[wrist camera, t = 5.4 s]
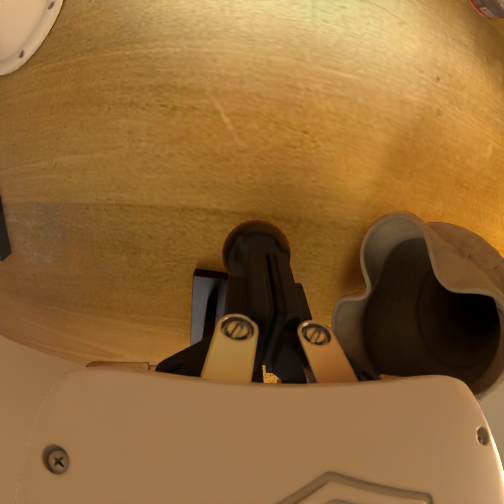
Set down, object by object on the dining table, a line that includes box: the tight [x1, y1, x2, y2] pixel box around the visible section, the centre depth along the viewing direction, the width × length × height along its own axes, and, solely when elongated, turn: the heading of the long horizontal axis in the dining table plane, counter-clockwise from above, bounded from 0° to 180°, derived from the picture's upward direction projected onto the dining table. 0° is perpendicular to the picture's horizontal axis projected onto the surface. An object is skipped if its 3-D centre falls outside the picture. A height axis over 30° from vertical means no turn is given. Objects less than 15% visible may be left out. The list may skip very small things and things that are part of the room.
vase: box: [331, 211, 504, 404], centre depth 21 cm, size 22×22×28 cm
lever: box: [222, 220, 291, 277], centre depth 17 cm, size 16×3×3 cm, turn 170°
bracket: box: [191, 269, 264, 383], centre depth 23 cm, size 10×8×12 cm
